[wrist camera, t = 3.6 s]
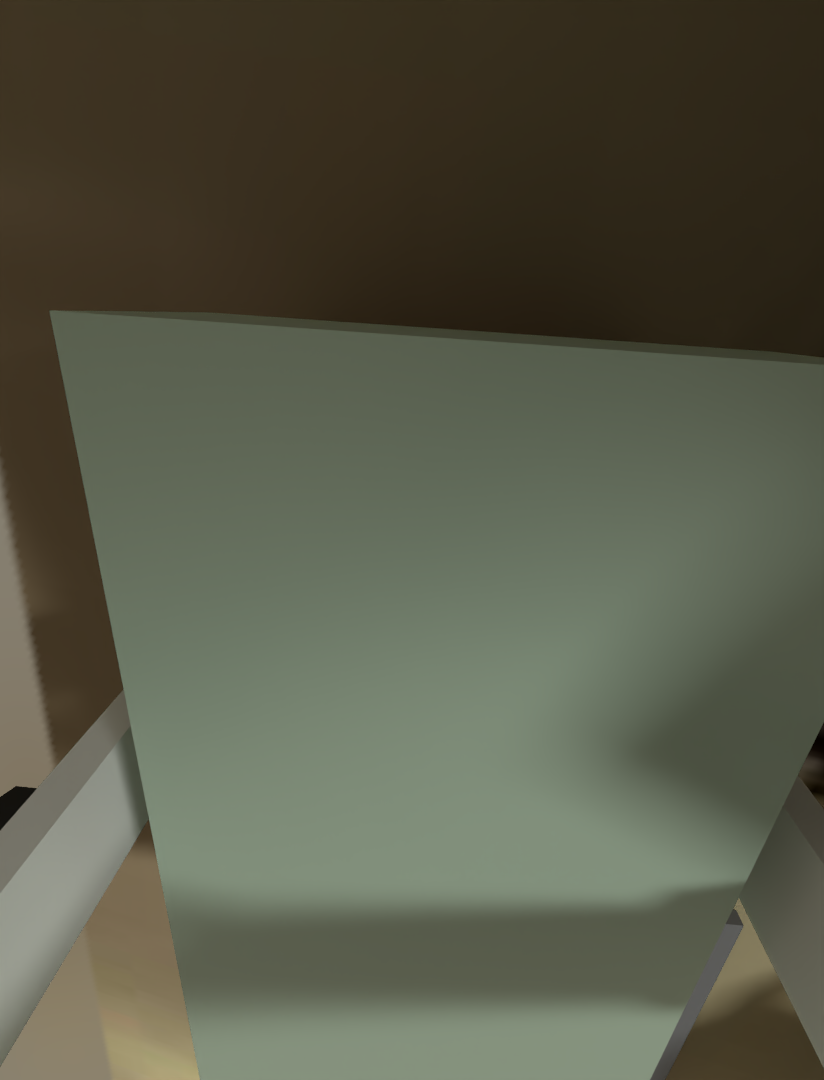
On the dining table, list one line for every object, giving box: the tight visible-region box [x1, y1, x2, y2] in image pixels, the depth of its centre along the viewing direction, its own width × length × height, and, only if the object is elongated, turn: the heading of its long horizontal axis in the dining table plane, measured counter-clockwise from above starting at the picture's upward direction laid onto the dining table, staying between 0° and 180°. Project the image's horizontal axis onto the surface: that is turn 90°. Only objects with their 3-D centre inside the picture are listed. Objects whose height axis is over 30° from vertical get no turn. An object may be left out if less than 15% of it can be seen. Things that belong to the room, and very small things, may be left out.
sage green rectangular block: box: [49, 310, 824, 1080], centre depth 11 cm, size 18×10×4 cm, turn 176°
